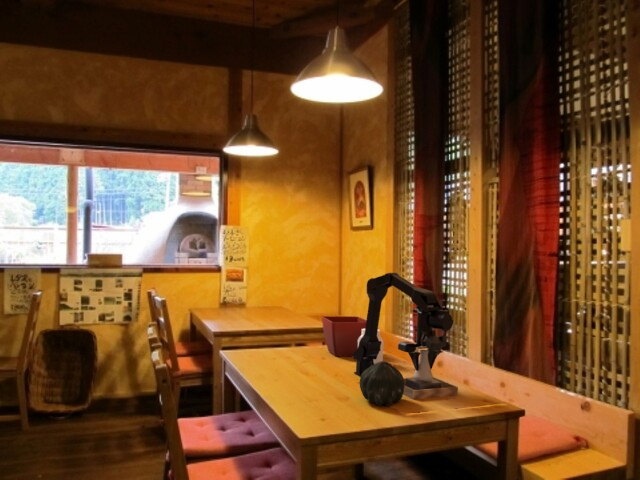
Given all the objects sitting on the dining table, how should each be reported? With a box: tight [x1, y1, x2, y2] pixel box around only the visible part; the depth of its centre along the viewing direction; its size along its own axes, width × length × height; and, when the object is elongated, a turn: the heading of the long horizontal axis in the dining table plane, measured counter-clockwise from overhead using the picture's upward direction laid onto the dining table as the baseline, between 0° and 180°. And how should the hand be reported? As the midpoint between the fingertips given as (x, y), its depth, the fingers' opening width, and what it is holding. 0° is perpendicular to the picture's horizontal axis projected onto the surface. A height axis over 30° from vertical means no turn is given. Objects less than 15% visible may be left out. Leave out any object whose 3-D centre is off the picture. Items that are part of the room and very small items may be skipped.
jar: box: [358, 328, 384, 364], centre depth 237 cm, size 12×10×15 cm
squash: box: [359, 360, 405, 407], centre depth 178 cm, size 14×15×15 cm
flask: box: [412, 349, 434, 380], centre depth 191 cm, size 7×7×10 cm
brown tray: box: [403, 376, 459, 401], centre depth 191 cm, size 18×16×4 cm
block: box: [405, 376, 441, 390], centre depth 191 cm, size 9×9×4 cm
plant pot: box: [321, 315, 367, 357], centre depth 257 cm, size 19×19×17 cm
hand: (423, 370), depth 191 cm, fingers closed on flask, 5 cm apart
